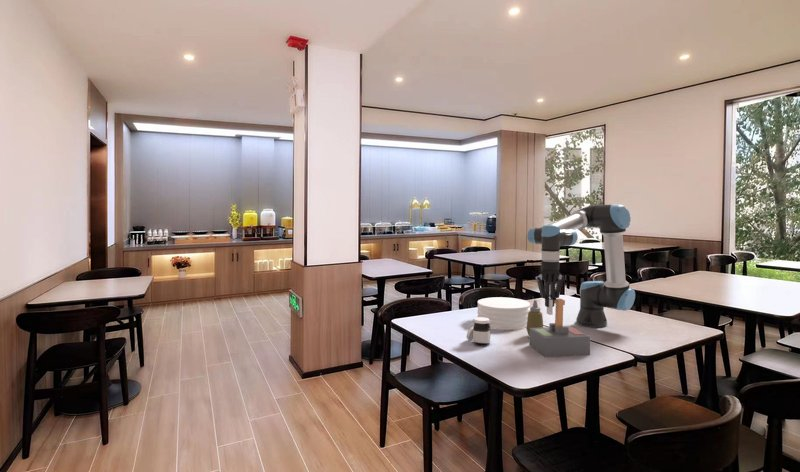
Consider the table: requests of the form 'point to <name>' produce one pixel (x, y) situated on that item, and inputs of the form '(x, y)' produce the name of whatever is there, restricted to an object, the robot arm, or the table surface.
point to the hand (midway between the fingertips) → (549, 313)
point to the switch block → (559, 341)
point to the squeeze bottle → (534, 317)
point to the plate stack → (504, 312)
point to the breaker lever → (559, 312)
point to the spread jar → (480, 332)
